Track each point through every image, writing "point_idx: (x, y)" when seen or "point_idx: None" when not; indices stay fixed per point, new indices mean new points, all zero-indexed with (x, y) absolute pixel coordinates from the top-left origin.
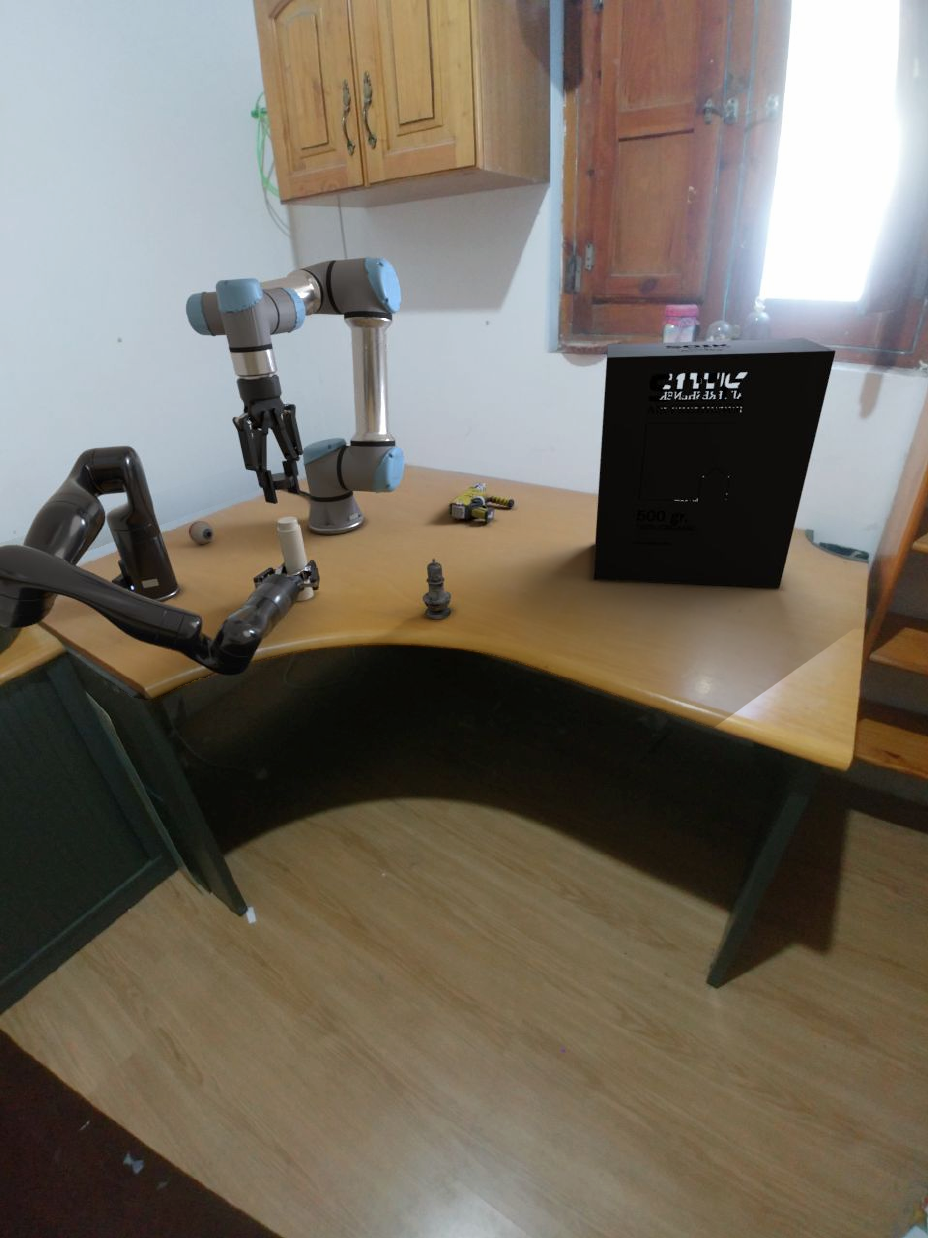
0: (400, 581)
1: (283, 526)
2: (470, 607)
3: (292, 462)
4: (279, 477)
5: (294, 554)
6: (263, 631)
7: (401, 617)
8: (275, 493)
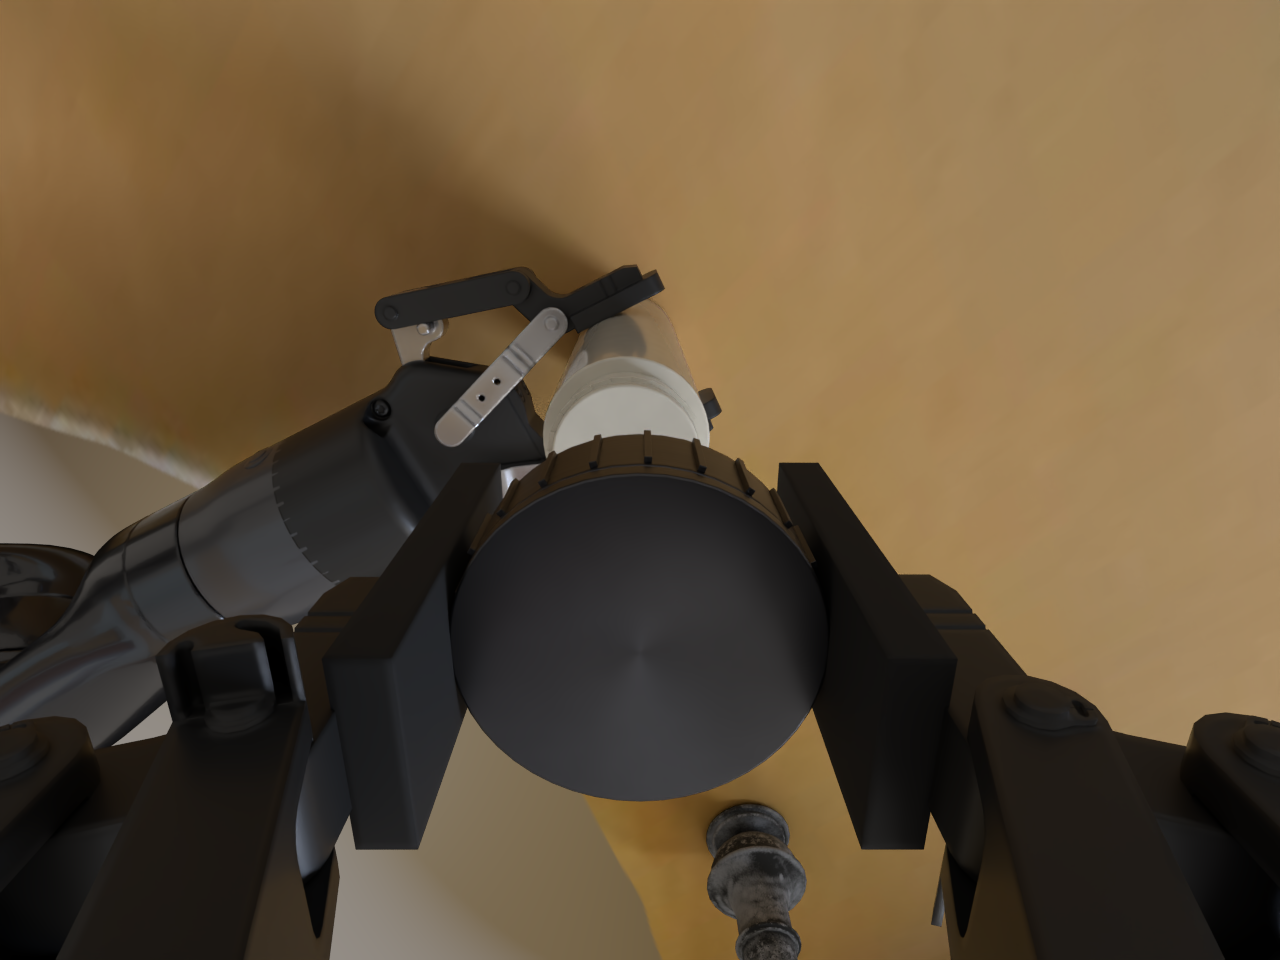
0: None
1: None
2: (821, 885)
3: (887, 847)
4: (615, 684)
5: None
6: (115, 741)
7: None
8: None
